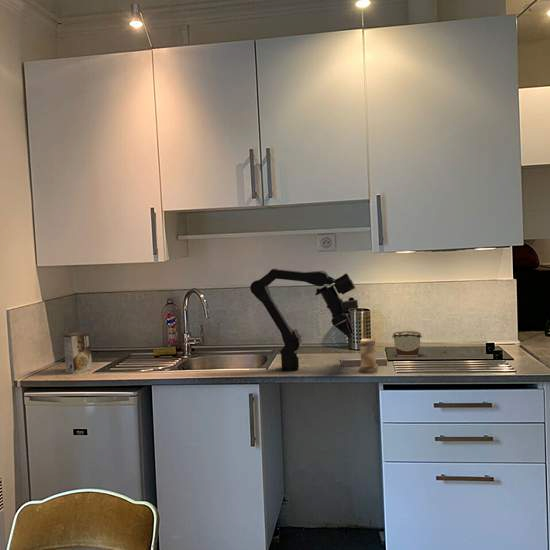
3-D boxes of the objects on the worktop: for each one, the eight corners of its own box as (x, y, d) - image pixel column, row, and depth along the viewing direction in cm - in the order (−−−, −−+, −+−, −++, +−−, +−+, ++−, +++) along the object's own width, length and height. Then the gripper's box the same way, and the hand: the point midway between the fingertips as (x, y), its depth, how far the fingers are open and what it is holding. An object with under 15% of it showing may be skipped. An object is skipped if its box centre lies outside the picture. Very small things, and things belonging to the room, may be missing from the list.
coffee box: (84, 368, 264) (81, 331, 263) (92, 369, 260) (90, 332, 259) (65, 372, 257) (62, 334, 256) (73, 374, 253) (71, 335, 252)
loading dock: (342, 366, 245) (341, 360, 244) (340, 359, 257) (340, 353, 257) (387, 365, 243) (386, 358, 243) (383, 358, 256) (383, 352, 256)
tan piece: (359, 372, 234) (358, 341, 233) (361, 368, 241) (360, 338, 240) (376, 372, 232) (375, 341, 231) (377, 368, 239) (376, 338, 238)
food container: (422, 353, 262) (422, 330, 262) (422, 356, 256) (421, 333, 256) (393, 353, 266) (393, 330, 265) (392, 356, 260) (392, 333, 259)
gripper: (349, 293, 229) (368, 330, 228) (351, 288, 247) (370, 322, 247) (323, 306, 231) (342, 343, 230) (327, 300, 249) (345, 334, 249)
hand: (351, 335), depth 239 cm, fingers open, 9 cm apart
